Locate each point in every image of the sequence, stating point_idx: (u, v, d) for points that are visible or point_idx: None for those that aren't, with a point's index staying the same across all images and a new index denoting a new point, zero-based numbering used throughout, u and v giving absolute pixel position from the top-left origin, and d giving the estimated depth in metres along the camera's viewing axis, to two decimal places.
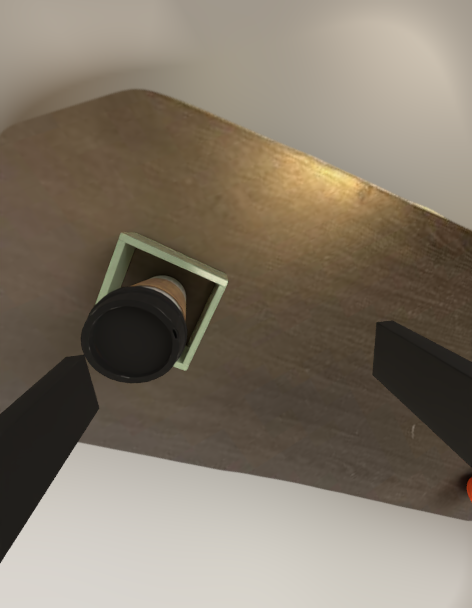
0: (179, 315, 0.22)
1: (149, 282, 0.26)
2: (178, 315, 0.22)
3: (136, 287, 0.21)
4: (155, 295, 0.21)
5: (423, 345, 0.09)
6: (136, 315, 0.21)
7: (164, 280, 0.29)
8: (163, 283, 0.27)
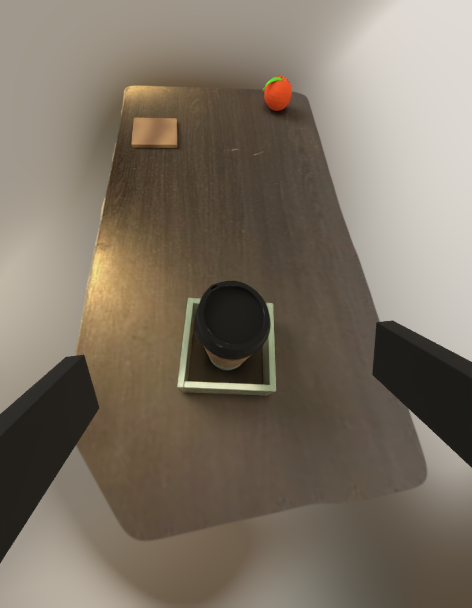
0: None
1: None
2: None
3: (196, 332, 0.28)
4: (196, 316, 0.28)
5: (423, 345, 0.09)
6: (213, 319, 0.27)
7: None
8: None
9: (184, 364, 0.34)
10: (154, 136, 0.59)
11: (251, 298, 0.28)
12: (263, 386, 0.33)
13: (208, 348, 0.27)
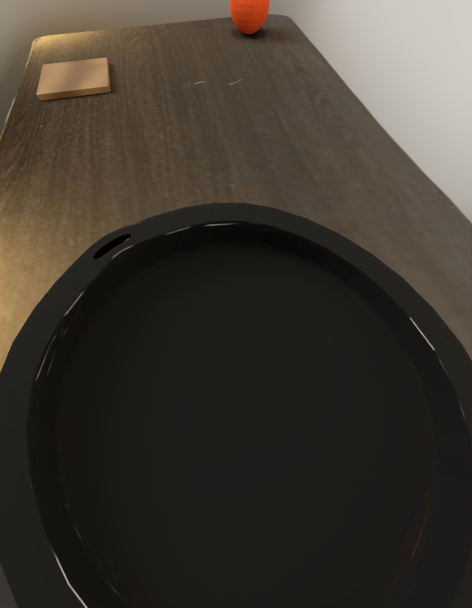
0: None
1: None
2: None
3: None
4: None
5: None
6: (122, 439, 0.04)
7: None
8: None
9: None
10: (73, 81, 0.38)
11: (318, 276, 0.06)
12: None
13: None
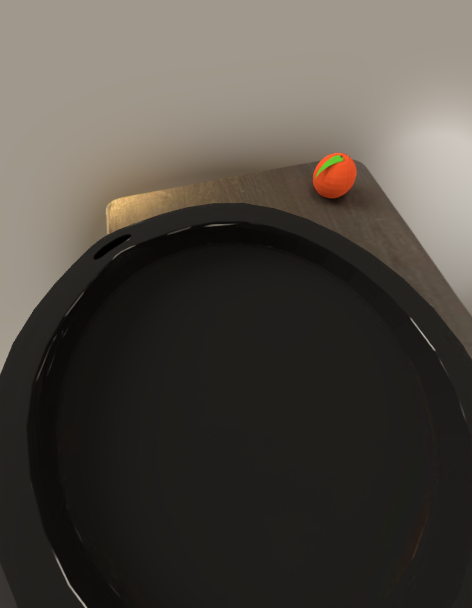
0: None
1: None
2: None
3: None
4: None
5: None
6: (123, 440, 0.04)
7: None
8: None
9: None
10: None
11: (319, 277, 0.06)
12: None
13: None
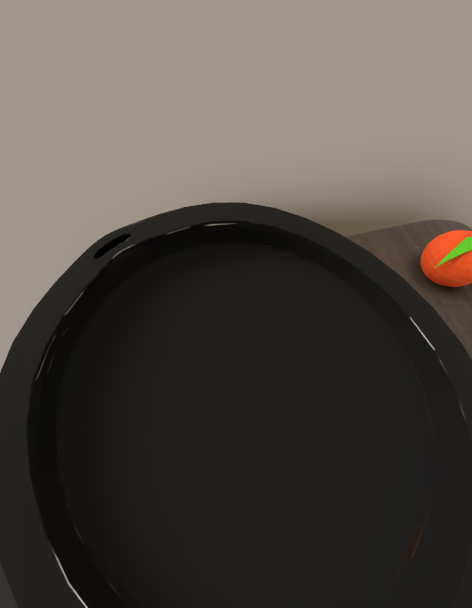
0: None
1: None
2: None
3: None
4: None
5: None
6: (122, 439, 0.04)
7: None
8: None
9: None
10: None
11: (318, 276, 0.06)
12: None
13: None
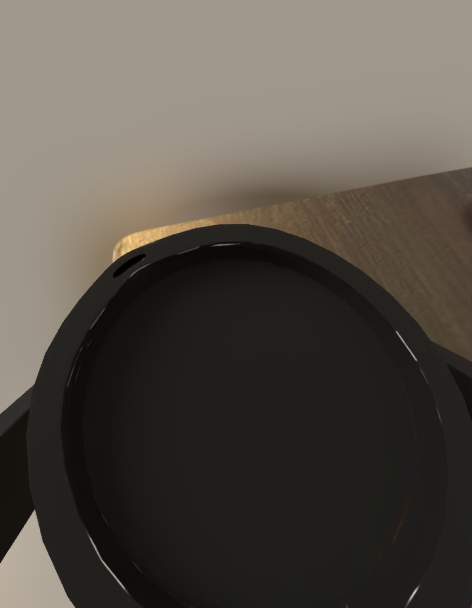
0: None
1: None
2: None
3: None
4: None
5: None
6: (141, 438, 0.05)
7: None
8: None
9: None
10: None
11: (315, 291, 0.06)
12: None
13: None
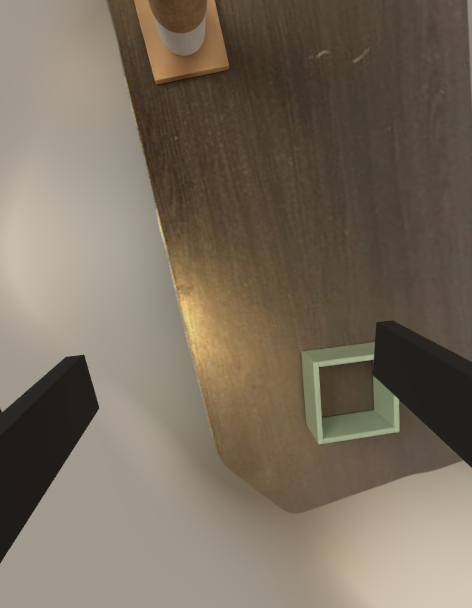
0: None
1: None
2: None
3: None
4: None
5: (423, 345, 0.09)
6: None
7: None
8: None
9: (321, 425, 0.37)
10: None
11: None
12: (389, 430, 0.38)
13: None
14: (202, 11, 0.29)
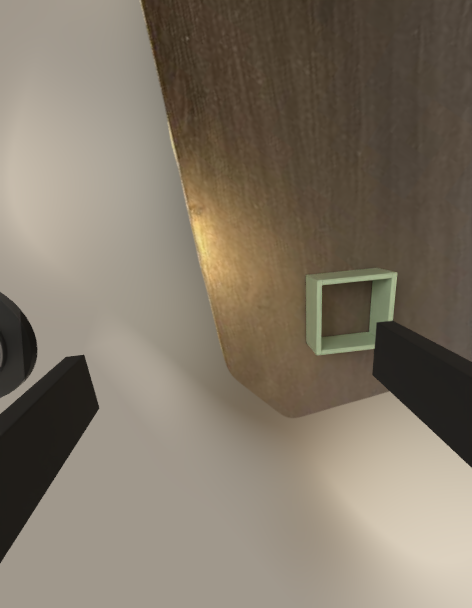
0: None
1: None
2: None
3: None
4: None
5: (423, 345, 0.09)
6: None
7: None
8: None
9: (320, 339, 0.42)
10: None
11: None
12: None
13: None
14: None
